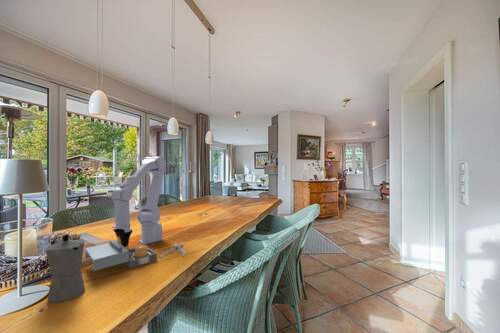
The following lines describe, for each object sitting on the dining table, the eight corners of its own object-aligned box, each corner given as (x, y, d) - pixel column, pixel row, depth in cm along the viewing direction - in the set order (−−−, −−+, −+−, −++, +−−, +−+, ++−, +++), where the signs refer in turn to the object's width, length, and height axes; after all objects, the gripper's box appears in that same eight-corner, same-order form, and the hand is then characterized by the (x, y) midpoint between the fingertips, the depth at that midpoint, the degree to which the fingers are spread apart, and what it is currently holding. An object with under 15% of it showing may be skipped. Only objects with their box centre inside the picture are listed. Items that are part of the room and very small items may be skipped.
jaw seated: (145, 257, 92) (144, 244, 92) (149, 260, 89) (148, 246, 89) (133, 260, 89) (133, 247, 89) (137, 264, 86) (137, 250, 86)
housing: (144, 251, 101) (143, 244, 101) (157, 260, 90) (157, 253, 90) (119, 258, 94) (119, 250, 94) (130, 269, 83) (130, 261, 83)
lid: (117, 250, 94) (116, 237, 94) (128, 261, 82) (128, 246, 82) (85, 258, 86) (85, 244, 86) (93, 271, 75) (93, 255, 75)
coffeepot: (96, 291, 68) (94, 233, 68) (58, 309, 60) (56, 242, 60) (71, 280, 76) (69, 227, 76) (34, 294, 67) (32, 235, 67)
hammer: (159, 255, 92) (168, 243, 107) (159, 259, 92) (168, 246, 107) (184, 254, 94) (189, 241, 108) (184, 257, 94) (189, 245, 108)
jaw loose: (127, 245, 103) (126, 233, 103) (130, 248, 100) (129, 235, 100) (116, 248, 100) (116, 236, 100) (119, 251, 97) (118, 238, 97)
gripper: (108, 214, 102) (108, 243, 102) (116, 219, 92) (117, 251, 92) (125, 211, 107) (125, 239, 107) (135, 216, 97) (135, 247, 97)
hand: (123, 245), depth 100 cm, fingers closed on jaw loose, 4 cm apart
